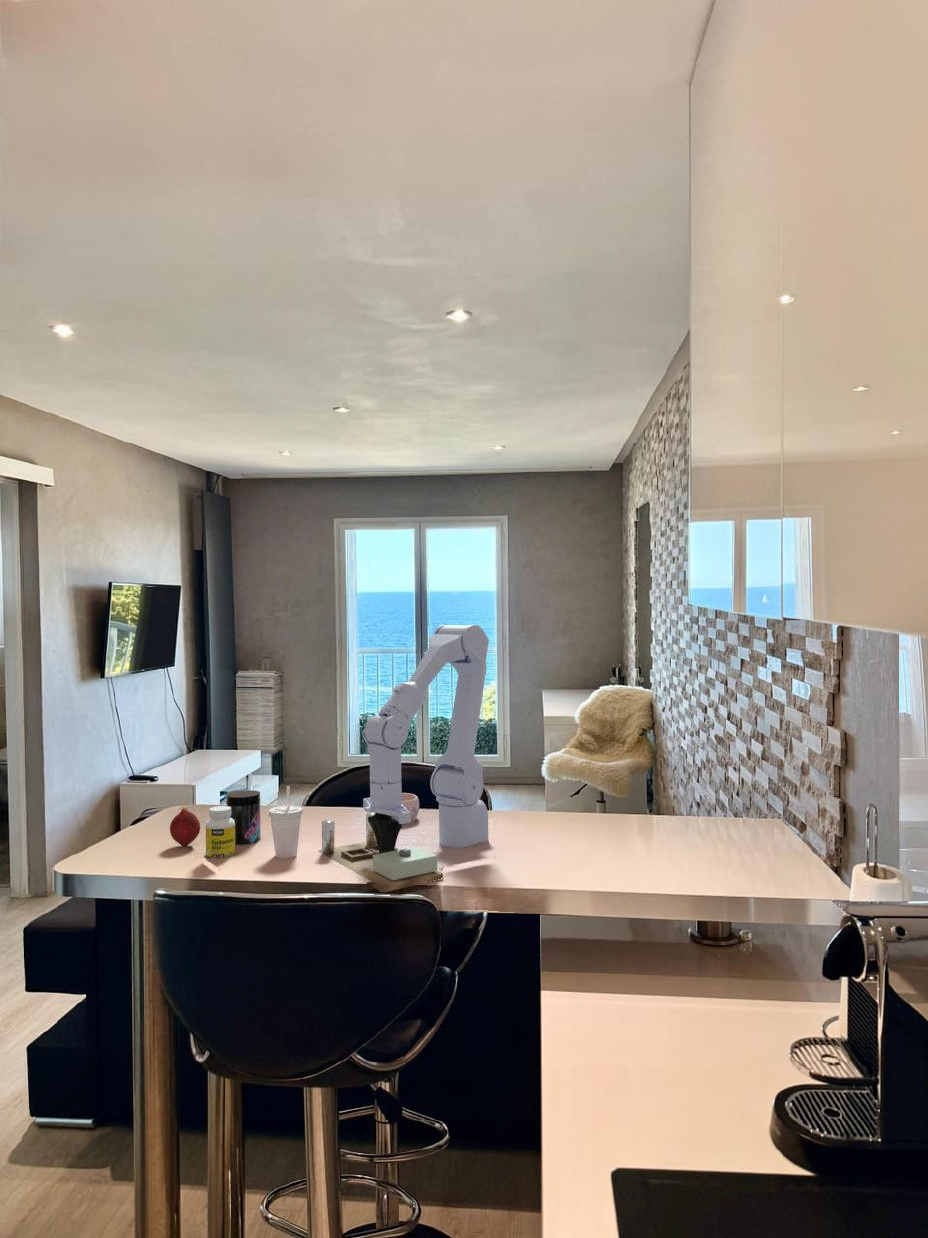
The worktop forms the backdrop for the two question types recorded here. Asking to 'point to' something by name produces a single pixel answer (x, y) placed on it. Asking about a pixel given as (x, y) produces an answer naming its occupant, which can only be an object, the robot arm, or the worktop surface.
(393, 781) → the robot arm
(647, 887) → the worktop surface
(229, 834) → the supplement bottle
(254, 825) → the supplement container
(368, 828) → the pin
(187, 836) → the onion
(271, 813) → the smoothie
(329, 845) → the pin
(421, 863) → the cover
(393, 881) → the board
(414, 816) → the pink bowl
